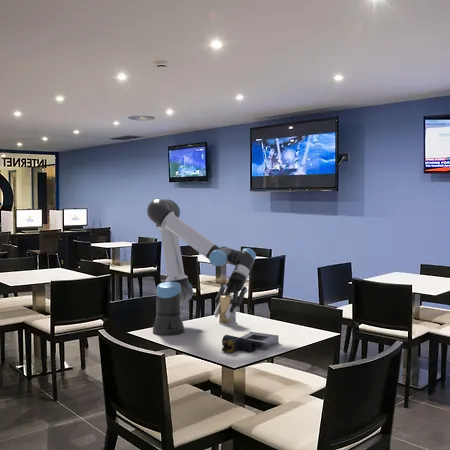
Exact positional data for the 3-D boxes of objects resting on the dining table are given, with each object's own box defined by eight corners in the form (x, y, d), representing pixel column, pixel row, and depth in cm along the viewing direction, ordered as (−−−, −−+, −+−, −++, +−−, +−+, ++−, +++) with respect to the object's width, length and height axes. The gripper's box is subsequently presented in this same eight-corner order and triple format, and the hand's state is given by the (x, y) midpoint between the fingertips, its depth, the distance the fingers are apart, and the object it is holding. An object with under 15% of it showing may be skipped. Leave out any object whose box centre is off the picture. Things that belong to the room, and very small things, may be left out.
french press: (221, 326, 260) (221, 277, 259) (216, 321, 271) (216, 274, 270) (240, 325, 262) (240, 276, 262) (234, 320, 274) (234, 273, 273)
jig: (236, 345, 223) (236, 338, 223) (250, 338, 235) (250, 331, 235) (265, 350, 216) (265, 342, 216) (278, 342, 228) (278, 335, 228)
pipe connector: (240, 344, 207) (212, 337, 216) (239, 357, 207) (212, 350, 216) (257, 339, 216) (229, 333, 225) (256, 351, 216) (229, 345, 225)
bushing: (217, 322, 232) (218, 296, 232) (222, 320, 237) (223, 294, 236) (226, 324, 230) (227, 297, 230) (232, 322, 234) (233, 296, 234)
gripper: (258, 283, 242) (241, 324, 228) (224, 279, 251) (206, 318, 237) (253, 273, 237) (236, 314, 223) (220, 269, 246) (201, 309, 232)
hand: (221, 316), depth 230 cm, fingers closed on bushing, 5 cm apart
